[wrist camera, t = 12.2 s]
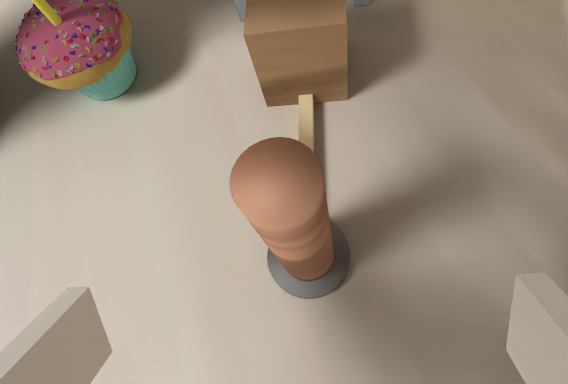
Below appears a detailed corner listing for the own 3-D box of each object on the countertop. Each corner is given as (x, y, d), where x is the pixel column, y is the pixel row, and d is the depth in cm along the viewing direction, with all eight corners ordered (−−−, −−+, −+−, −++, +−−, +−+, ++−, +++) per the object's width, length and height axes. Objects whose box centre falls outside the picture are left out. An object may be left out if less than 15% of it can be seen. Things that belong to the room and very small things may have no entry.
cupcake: (174, 78, 31) (79, -70, 20) (86, 139, 30) (-64, 17, 19) (128, 25, 34) (26, -126, 23) (49, 78, 33) (-97, -55, 22)
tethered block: (360, 298, 22) (371, 246, 11) (259, 298, 23) (182, 252, 12) (343, 37, 30) (340, -136, 19) (269, 45, 31) (228, -115, 20)
